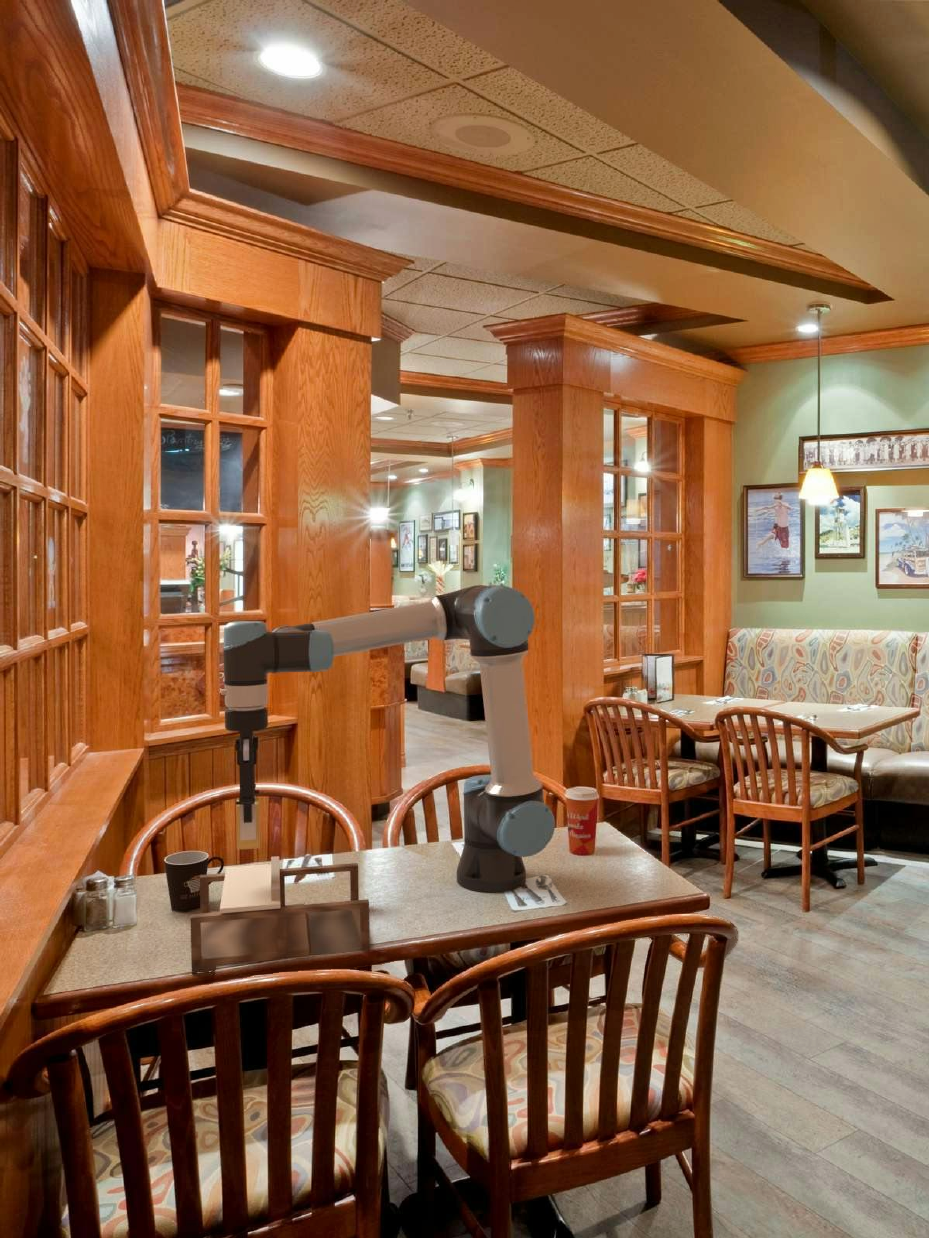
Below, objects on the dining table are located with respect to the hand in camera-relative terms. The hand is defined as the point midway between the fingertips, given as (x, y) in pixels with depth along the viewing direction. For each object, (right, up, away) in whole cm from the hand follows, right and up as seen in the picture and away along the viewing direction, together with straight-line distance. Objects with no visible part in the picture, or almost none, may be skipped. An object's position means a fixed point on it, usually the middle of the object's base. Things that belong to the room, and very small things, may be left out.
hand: (248, 835), depth 161 cm
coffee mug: (-16, -19, +20) cm, 32 cm away
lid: (0, -10, +1) cm, 10 cm away
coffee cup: (+67, -17, +52) cm, 87 cm away
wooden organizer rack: (+6, -20, +2) cm, 21 cm away
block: (0, -2, 0) cm, 2 cm away
